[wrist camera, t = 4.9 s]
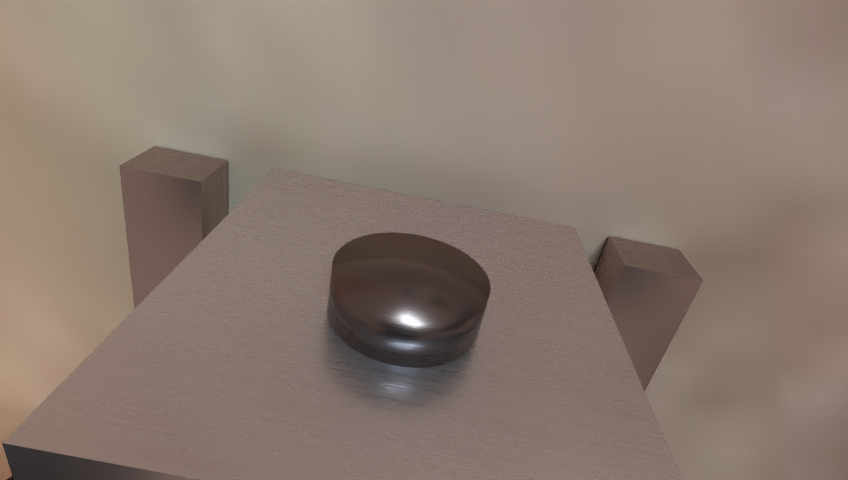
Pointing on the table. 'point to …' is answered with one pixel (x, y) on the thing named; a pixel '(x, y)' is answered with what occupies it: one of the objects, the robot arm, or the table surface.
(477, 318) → the metal box with button
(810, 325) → the table surface
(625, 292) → the channel
